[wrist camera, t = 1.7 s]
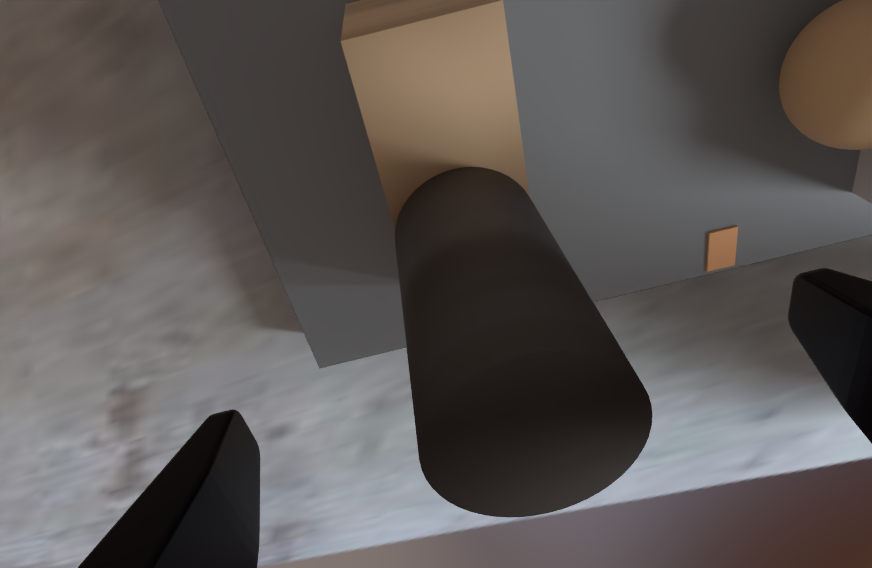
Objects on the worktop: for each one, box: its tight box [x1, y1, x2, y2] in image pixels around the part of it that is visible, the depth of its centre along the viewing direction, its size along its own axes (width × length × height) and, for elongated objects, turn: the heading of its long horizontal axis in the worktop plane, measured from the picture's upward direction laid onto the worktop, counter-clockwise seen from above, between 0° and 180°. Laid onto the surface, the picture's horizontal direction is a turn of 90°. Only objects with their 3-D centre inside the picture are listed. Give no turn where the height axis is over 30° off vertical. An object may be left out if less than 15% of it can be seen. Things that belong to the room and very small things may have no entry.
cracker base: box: [158, 0, 872, 368], centre depth 16 cm, size 14×24×8 cm, turn 102°
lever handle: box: [341, 0, 652, 517], centre depth 12 cm, size 9×3×11 cm, turn 12°
